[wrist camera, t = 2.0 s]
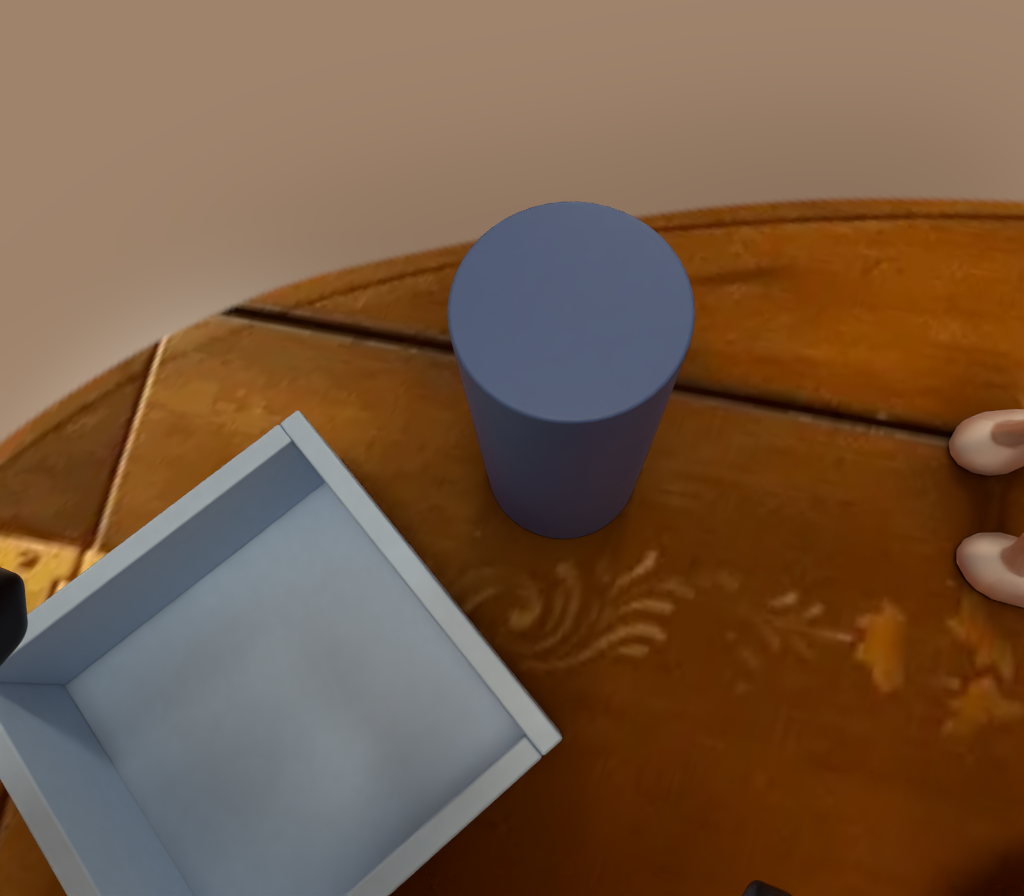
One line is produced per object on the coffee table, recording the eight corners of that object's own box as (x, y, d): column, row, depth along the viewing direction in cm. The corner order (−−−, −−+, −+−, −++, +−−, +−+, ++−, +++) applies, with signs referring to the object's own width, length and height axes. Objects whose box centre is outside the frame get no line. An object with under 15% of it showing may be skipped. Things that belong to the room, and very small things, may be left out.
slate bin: (248, 1013, 20) (174, 1088, 16) (46, 683, 23) (-60, 679, 19) (560, 732, 22) (563, 738, 18) (338, 456, 24) (297, 408, 20)
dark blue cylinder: (554, 570, 23) (557, 474, 13) (458, 458, 24) (397, 295, 14) (667, 473, 24) (748, 316, 14) (569, 368, 25) (581, 158, 15)
